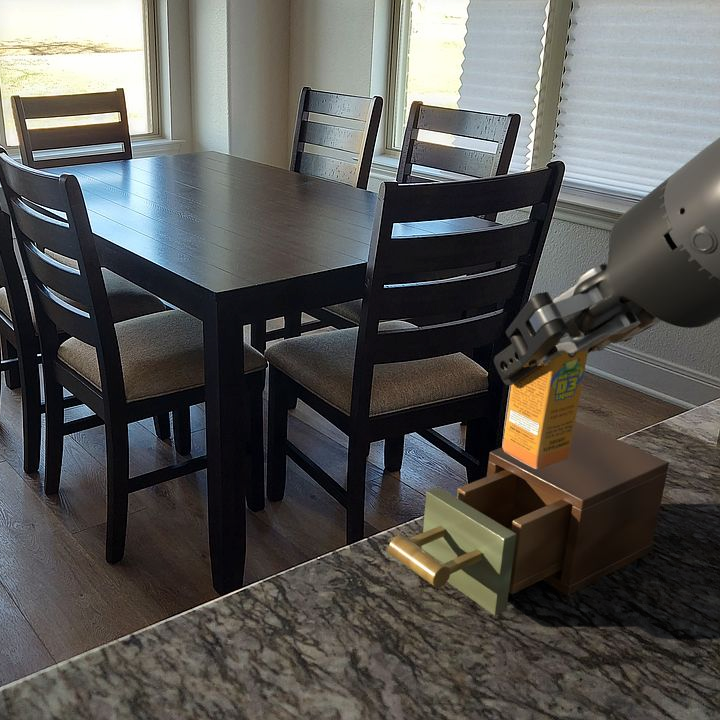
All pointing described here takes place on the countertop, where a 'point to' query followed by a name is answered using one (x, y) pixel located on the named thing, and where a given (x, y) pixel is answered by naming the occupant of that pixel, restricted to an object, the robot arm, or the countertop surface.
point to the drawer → (488, 538)
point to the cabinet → (598, 502)
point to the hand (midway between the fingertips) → (524, 366)
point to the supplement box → (545, 411)
